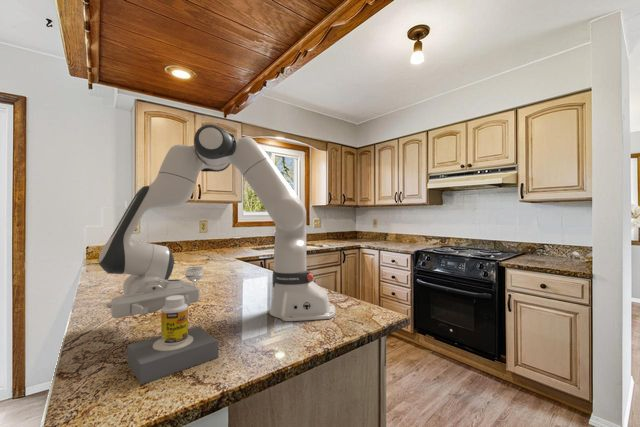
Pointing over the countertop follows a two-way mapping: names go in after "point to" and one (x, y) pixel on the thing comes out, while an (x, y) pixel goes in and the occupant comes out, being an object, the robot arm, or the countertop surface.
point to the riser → (170, 355)
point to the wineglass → (194, 274)
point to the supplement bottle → (174, 320)
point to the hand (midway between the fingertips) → (167, 306)
